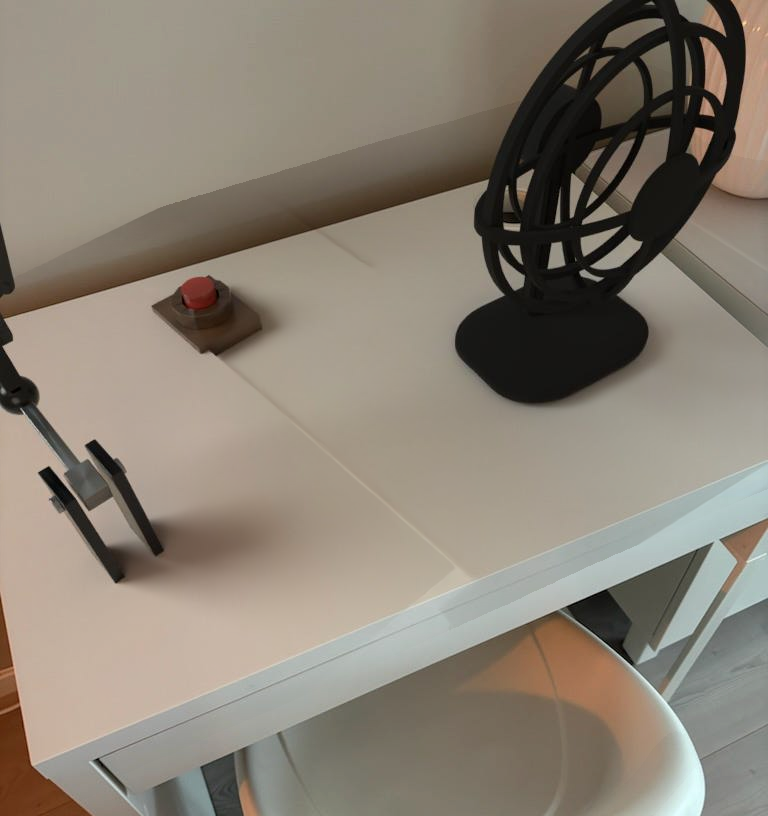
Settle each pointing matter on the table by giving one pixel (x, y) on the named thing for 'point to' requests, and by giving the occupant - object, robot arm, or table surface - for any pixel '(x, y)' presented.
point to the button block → (210, 320)
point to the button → (199, 293)
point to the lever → (57, 445)
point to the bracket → (124, 498)
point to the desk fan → (553, 165)
